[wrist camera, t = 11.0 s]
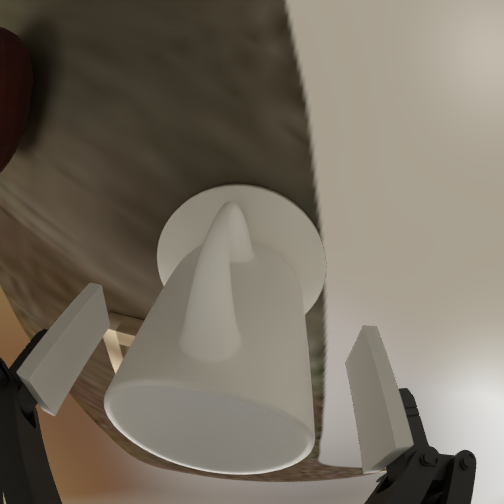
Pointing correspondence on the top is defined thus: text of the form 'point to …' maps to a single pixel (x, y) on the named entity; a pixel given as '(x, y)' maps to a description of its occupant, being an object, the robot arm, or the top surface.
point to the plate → (260, 230)
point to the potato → (13, 93)
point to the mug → (221, 361)
